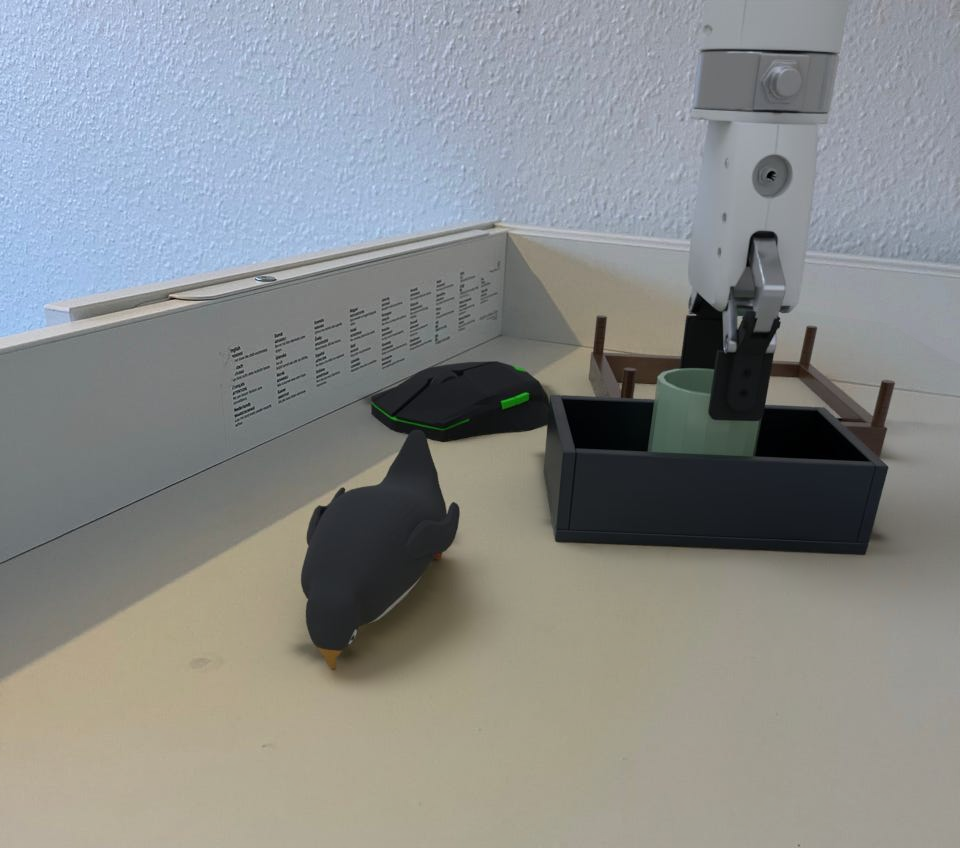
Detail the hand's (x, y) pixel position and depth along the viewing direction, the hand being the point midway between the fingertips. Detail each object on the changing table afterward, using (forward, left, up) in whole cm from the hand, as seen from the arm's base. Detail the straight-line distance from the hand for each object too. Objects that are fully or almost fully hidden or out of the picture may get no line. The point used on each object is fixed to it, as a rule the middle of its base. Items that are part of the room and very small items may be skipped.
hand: (717, 396), depth 63 cm
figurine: (+20, +16, -8) cm, 27 cm away
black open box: (0, 0, -8) cm, 8 cm away
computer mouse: (+15, -20, -8) cm, 26 cm away
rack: (-7, -24, -8) cm, 26 cm away
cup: (+1, 0, -7) cm, 7 cm away
